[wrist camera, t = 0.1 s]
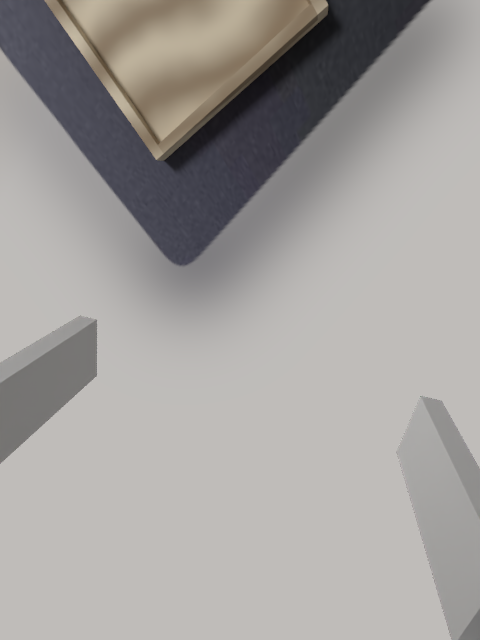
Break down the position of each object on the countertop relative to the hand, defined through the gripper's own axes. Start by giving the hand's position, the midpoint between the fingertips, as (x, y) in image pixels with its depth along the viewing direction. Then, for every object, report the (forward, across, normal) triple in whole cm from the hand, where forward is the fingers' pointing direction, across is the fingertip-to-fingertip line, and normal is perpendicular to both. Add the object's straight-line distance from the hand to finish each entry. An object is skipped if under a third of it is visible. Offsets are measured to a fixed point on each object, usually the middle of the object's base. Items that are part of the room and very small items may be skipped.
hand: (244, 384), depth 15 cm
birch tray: (+28, -15, +21) cm, 38 cm away
